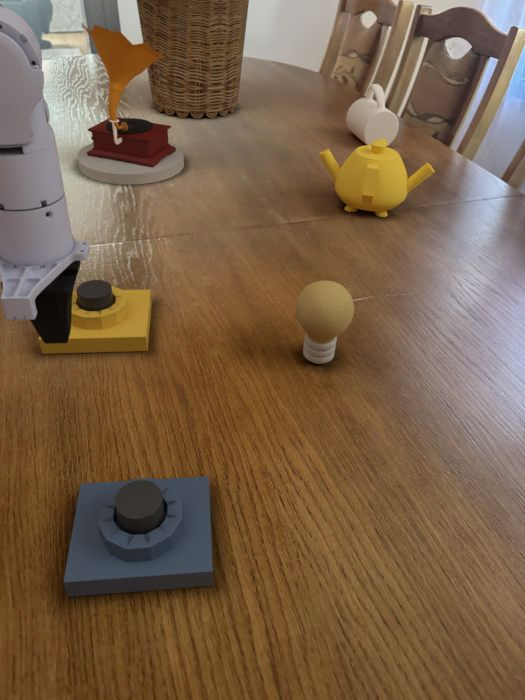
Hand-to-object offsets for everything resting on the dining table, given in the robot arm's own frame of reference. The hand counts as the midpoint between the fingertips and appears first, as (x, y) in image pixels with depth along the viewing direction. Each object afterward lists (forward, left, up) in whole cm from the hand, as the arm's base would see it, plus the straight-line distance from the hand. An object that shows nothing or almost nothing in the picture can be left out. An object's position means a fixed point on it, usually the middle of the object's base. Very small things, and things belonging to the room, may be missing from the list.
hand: (57, 338), depth 50 cm
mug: (+53, +85, -11) cm, 100 cm away
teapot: (+44, +51, -11) cm, 68 cm away
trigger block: (+1, +16, -10) cm, 19 cm away
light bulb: (+27, +9, -11) cm, 30 cm away
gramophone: (+1, +70, -11) cm, 70 cm away
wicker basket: (+14, +110, -11) cm, 111 cm away
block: (+8, -14, -10) cm, 19 cm away
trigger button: (+1, +16, -7) cm, 17 cm away
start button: (+8, -14, -7) cm, 18 cm away
